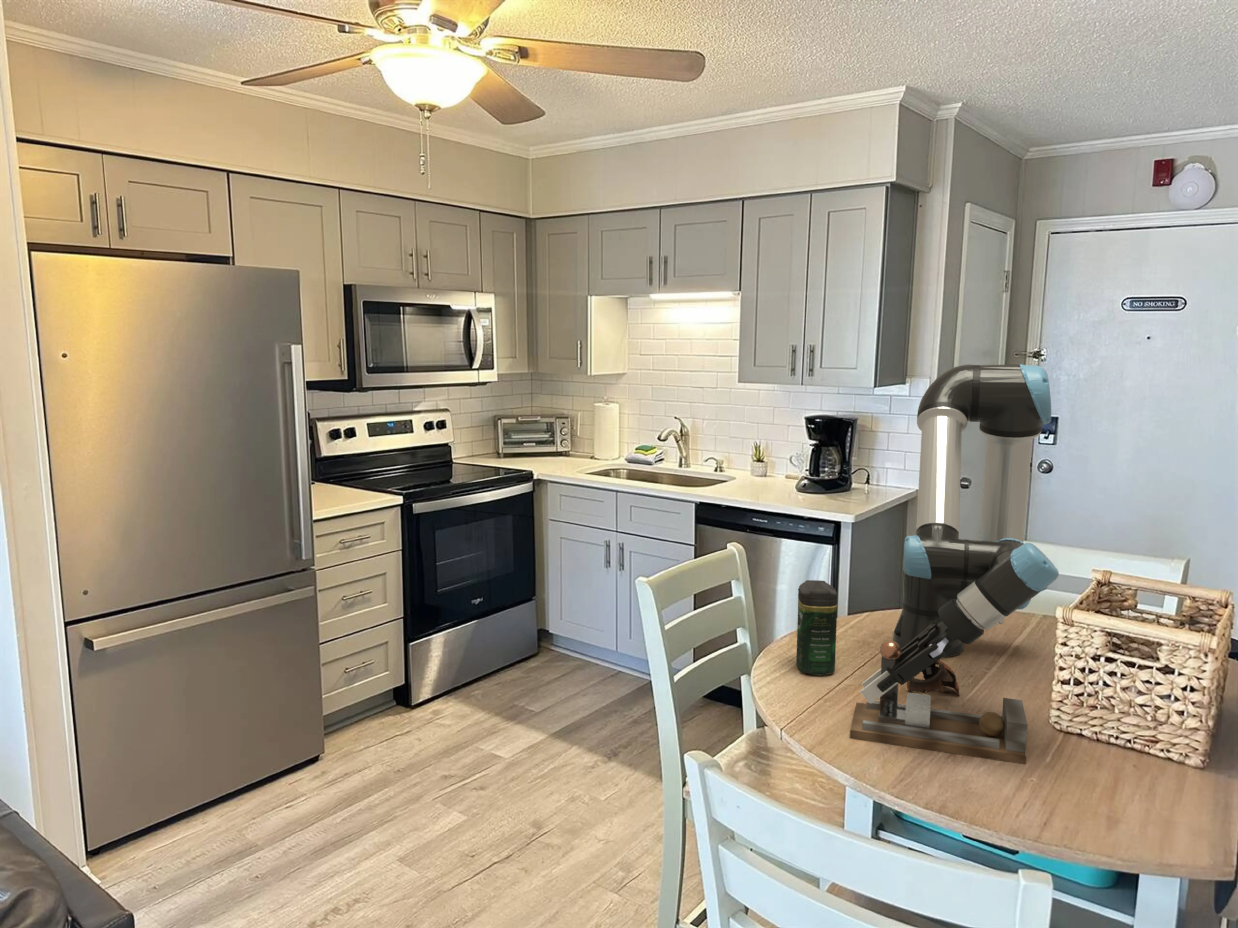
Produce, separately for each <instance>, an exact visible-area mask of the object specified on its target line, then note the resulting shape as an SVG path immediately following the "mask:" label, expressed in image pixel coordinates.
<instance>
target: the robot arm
mask: <svg viewBox="0 0 1238 928" xmlns="http://www.w3.org/2000/svg"><path fill="white" fill-rule="evenodd" d="M1050 389H1051V388H1050V380H1049V376H1048V373H1047V370H1046V369H1045V368H1044V367H1042V366H1040V365H1031V364H1030V365H1027V364H1022V363H1020V364H962V365H958V366H957V365H956V366H954V367H952V368H950V369H948V370H945V372H943V373H942V374H940V375H939V376H938V377H936V378H935V380H934V381H933V382H932V383H931V384H930V385H929V386H928V388H927V389H926V390H925V392H924V394H923V396H922V397H921V400H920V402H919V405H918V407H917V408H918V409H917V415H916V416H917V417H916V424H917V427H918V429H919V430H920V431H921V435H920V436H921V437H920V438H921V440H920V455H919V459H920V460H919V472H918V475H919V476H918V491H917V507H916V524H915V525H916V526H915V527H916V528H915V529H916V530H915V534H913V535H907V536H906V537H905V538H904V544H903V568H902V570H903V572H904V573H903V586H902V606H901V607H902V608H901V609H902V610H901V612H900V615H899V617H898V620H897V622H896V625H895V627H894V630H893V634H892V641H895V642H897V643H898V644H899V645H900V647H901V656H900V657H899V664H897V665H896V666H895V667H894V668H893V669H890V668H889V667H887V668H886V670H887V671H885V672H884V673H883V674H882V675H881V668H880V669H878V670H877V671H875V672H874V673H873V674H872V675H870V676H869V677H867V679H865V680H863V682H861V685H862V686H863V688H861V689H860V690H859V693H860V694H861V695H862V696H863V697H864V698H865V700H866V701H867V700H868V702H869V703H870V704H871V703H873V702H874V701H878V699H880V697H881V696H882V695H883V694H885V693H886V692H887V691H889V690H890V689H891V688H893V687H894V686H895V685H897V684H898V685H900V686H903V685H905V684H907V681H909V680H910V679H912V678H913V677H914V678H915V677H916V676H917V675H919V674H921V673H922V671H923V670H924V669H926V668H927V667H929V666H930V665H932V664H933V663H934V662H936V661H938V660H942V659H944V658H948V657H949V658H950V657H954V656H959V655H960V654H961V653H963V652H964V649H965V648H964V647H965V645H971V644H972V643H974V642H975V641H976V640H979V638H981V636H983V635H984V634H985V630H990V629H992V628H993V627H995V626H997V624H999V625H1003V624H1004V623H1005V620H1004V619H1005V618H1007V617H1008V616H1010V615H1011V614H1012V613H1014V612H1015V611H1016V610H1024V609H1025V608H1027V607H1028V606H1029V605H1030V602H1031V600H1032V599H1033V598H1034V597H1036V596H1037V595H1038V594H1040V593H1041V592H1043V591H1045V590H1047V589H1048V587H1049V586H1050V585H1051V584H1053V583H1054V582H1055V581H1056V580H1057V579H1058V577H1059V575H1060V574H1059V573H1060V572H1059V570H1058V568H1057V567H1056V566H1055V564H1054V563H1053V561H1051V560H1050V559H1049V557H1048V556H1047V555H1046V554H1045V553H1044V552H1043V551H1042V550H1041V549H1040V548H1039V547H1037V546H1036V545H1035V544H1033V543H1031V542H1024V538H1025V526H1026V525H1025V524H1026V515H1027V506H1028V505H1027V503H1028V493H1029V492H1028V491H1029V480H1030V470H1031V458H1032V445H1033V440H1034V439H1035V438H1037V437H1038V436H1039V435H1040V434H1041V433H1042V428H1043V425H1044V426H1045V425H1048V424H1050V423H1051V422H1052V400H1051V399H1052V397H1051V390H1050ZM968 422H970V423H971V422H972V423H979V426H978V427H979V429H978V430H979V431H980V433H982V434H983V435H984V436H985V437H986V442H985V457H984V472H983V473H984V474H983V485H982V486H983V488H982V499H981V516H980V528H979V529H980V531H979V539H978V540H976V539H966V538H965V539H961V538H959V537H960V536H959V535H960V510H961V505H960V502H961V473H962V472H961V469H962V436H963V435H962V434H963V432H964V431H965V430H966V428H967V426H968Z"/></svg>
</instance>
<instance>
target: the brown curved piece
mask: <svg viewBox="0 0 1238 928" xmlns="http://www.w3.org/2000/svg"><path fill="white" fill-rule="evenodd" d="M921 673H922V675H923V676H922V677H923V679H918V678H915V677H913V678H912V679H910V680H909V681H907V682H906V688H907V692H908V693H918V694H920V693H921V694H925V693H931V692H934V691H940V692H944V690H943V689H944V688H946V687H948V688H950V689H954V691H955V693H956V696H957V697H960V696H961V695H960V686H959V683H958V681H957V678H956V677H957V676H956V674H955V672H954V670H953V669H952V667H950V666H949V664H946V663H945V662H943V661H942V659H940V660H938V661H936V662H934V663H933V664H932V665H930V666H929V667H927V668H926V669H924V670H923V671H922V672H921ZM943 687H944V688H943Z"/></svg>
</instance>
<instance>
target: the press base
mask: <svg viewBox="0 0 1238 928" xmlns="http://www.w3.org/2000/svg"><path fill="white" fill-rule="evenodd" d="M897 709H899V710H906V704H902V703H897ZM879 711H880V700H875V701H874V702H873V703H871V704H870V703H869V702H868V700H867V699H866V703H863V702H856V703H855V707H854V711H853V717H852V720H851V724H850V729H849V739H855V740H861V741H867V742H874V743H875V742H876V743H882V744H888V745H894V746H895V745H896V746H901V747H908V748H916V749H920V750H921V749H922V750H928V751H935V752H943V753H946V754H947V753H948V754H955V755H962V756H966V757H967V756H968V757H969V756H970V757H973V758H974V757H975V758H981V759H982V758H983V759H989V760H993V761H994V760H995V761H996V760H997V761H1002V762H1009V763H1015V764H1021V765H1026V763H1027V762H1026V761H1027V751H1026V750H1027V736H1028V721H1027V717H1026V712H1025V708H1024V702H1023V700H1022V699H1018V698H1017V699H1016V698H1010V697H1009V698H1007V697H1003V698H1002V712H1001V715H999V714H998V713H996V712H993V711H987V712H985V713H983V714H976V713H969V712H968V713H967V712H962V711H954V710H947V709H938V708H931V707H930V728H929V729H923V728H916V727H909V726H901V725H894V724H887V723H880V722H879Z"/></svg>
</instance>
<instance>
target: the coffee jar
mask: <svg viewBox="0 0 1238 928" xmlns="http://www.w3.org/2000/svg"><path fill="white" fill-rule="evenodd" d="M797 590H798V591H797V592H798V593H797V629H796V632H797V633H796V634H797V635H796V638H797V639H796V656H795V657H796V658H795V659H796V660H795V661H796V664H797V665H796V666H797V668H798V669H799V671H801V672H802V673H806V674H810V675H812V676H825V675H830V674H833V673H834V672H835V669H836V653H837V652H836V648H837V647H836V646H837V645H836V644H837V643H836V642H837V625H838V620H837V619H838V592H837V590H836V589H835V587H833V586H832V584H829V583H827V581H825V580H816V579H815V580H814V579H813V580H811V579H810V580H809V579H807V580H805V581H804V582H802V583H801V584H800V585H799V586H798V589H797Z"/></svg>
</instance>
